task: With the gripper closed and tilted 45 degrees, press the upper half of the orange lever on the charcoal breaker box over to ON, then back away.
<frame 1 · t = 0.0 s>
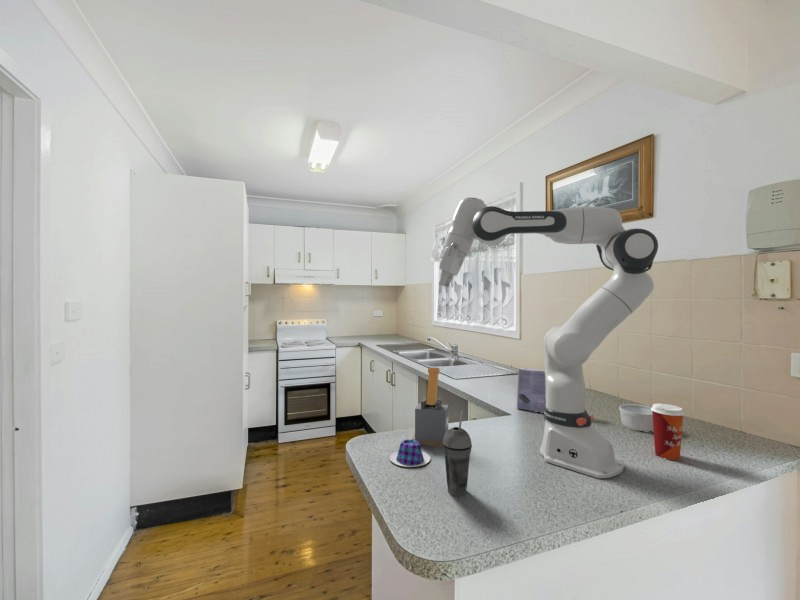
hand: (443, 285, 120), 52 cm above the worktop, tool tilted 20°, fingers open, 8 cm apart
pudding: (410, 460, 107), on the worktop
ramekin: (639, 428, 134), on the worktop
beverage cup: (457, 491, 89), on the worktop
cake pan box: (541, 412, 153), on the worktop
coffee cup: (667, 456, 109), on the worktop
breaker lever: (432, 387, 122), point 18 cm above the worktop, hinge at -25.0°
breaker box: (431, 441, 121), on the worktop
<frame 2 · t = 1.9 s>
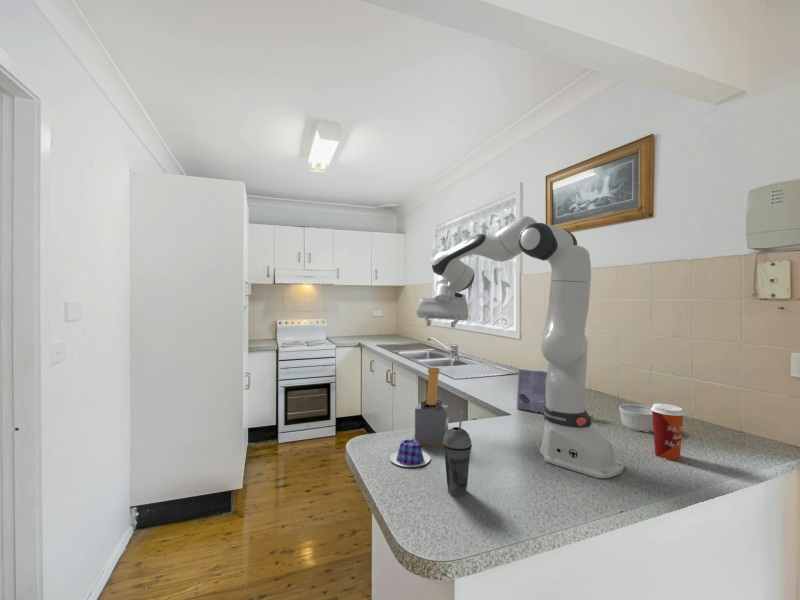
hand: (440, 325, 138), 37 cm above the worktop, tool tilted 45°, fingers open, 8 cm apart
nothing on the worktop moved.
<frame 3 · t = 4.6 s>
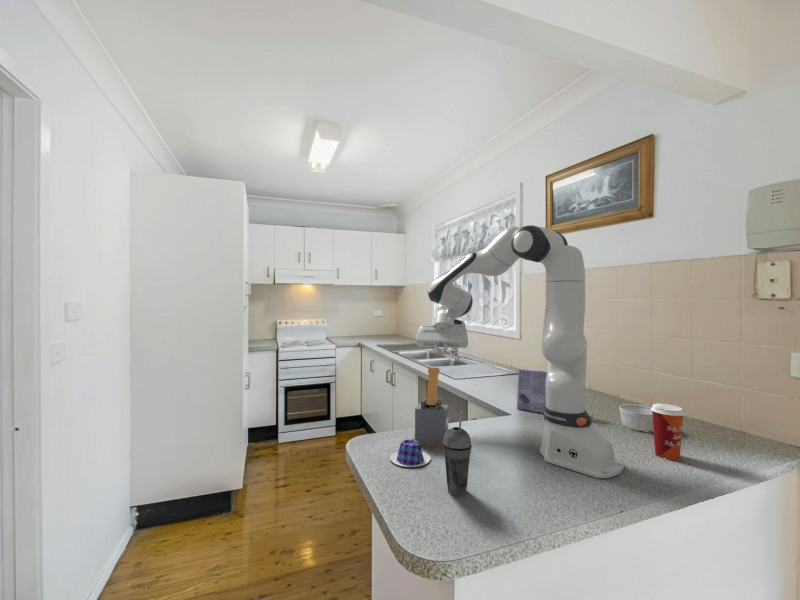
hand: (439, 354, 135), 27 cm above the worktop, tool tilted 45°, fingers closed
nothing on the worktop moved.
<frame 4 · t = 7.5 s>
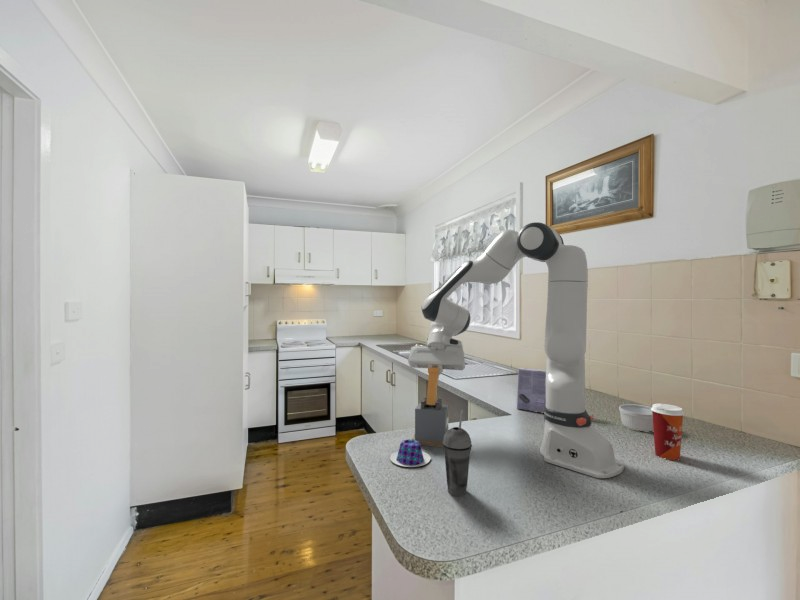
hand: (433, 377, 124), 20 cm above the worktop, tool tilted 45°, fingers closed, pressing on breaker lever
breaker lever: (432, 387, 121), point 18 cm above the worktop, hinge at -23.9°, touching gripper
everything else where it was.
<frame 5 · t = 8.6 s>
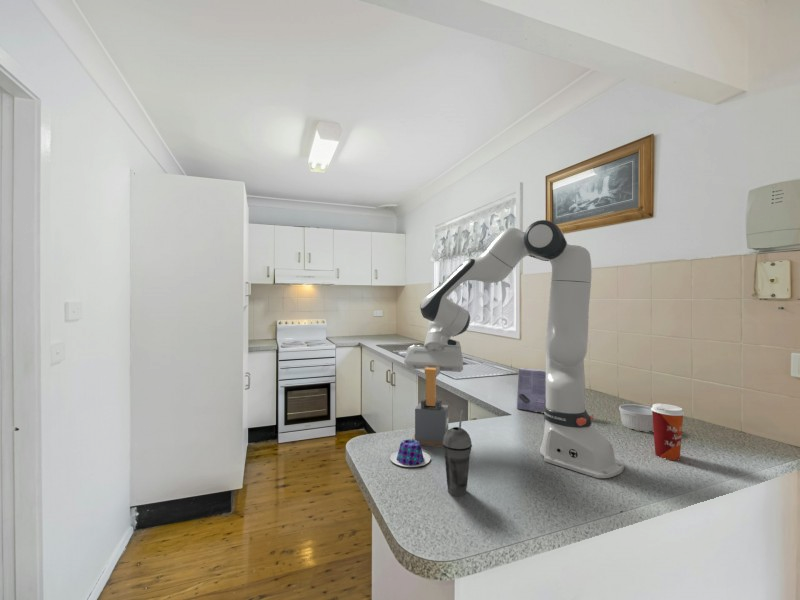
hand: (430, 379, 120), 21 cm above the worktop, tool tilted 45°, fingers closed, pressing on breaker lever
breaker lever: (430, 388, 119), point 18 cm above the worktop, hinge at 4.4°, touching gripper
everything else where it was.
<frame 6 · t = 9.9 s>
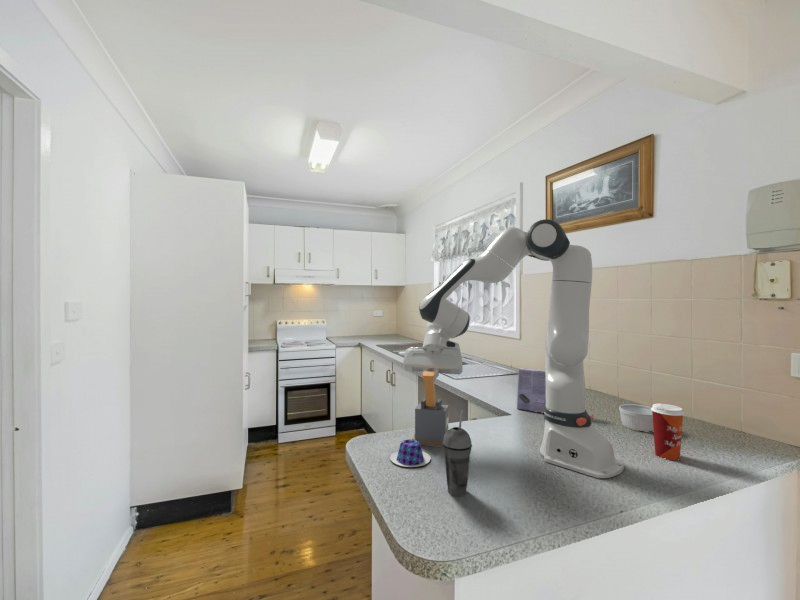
hand: (429, 382, 117), 20 cm above the worktop, tool tilted 45°, fingers closed, pressing on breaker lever
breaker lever: (429, 390, 117), point 18 cm above the worktop, hinge at 22.7°, touching gripper
everything else where it was.
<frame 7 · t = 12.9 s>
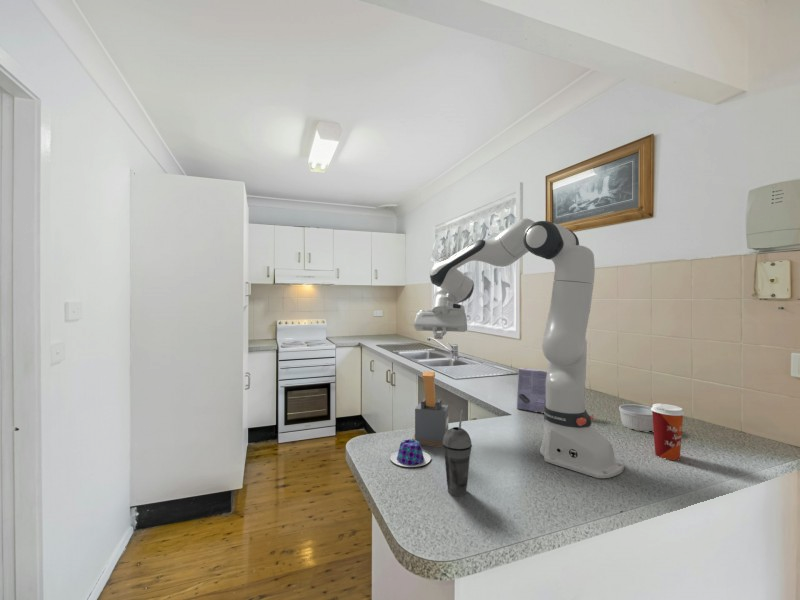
hand: (438, 338, 133), 33 cm above the worktop, tool tilted 45°, fingers closed
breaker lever: (429, 390, 117), point 18 cm above the worktop, hinge at 23.0°
everything else where it was.
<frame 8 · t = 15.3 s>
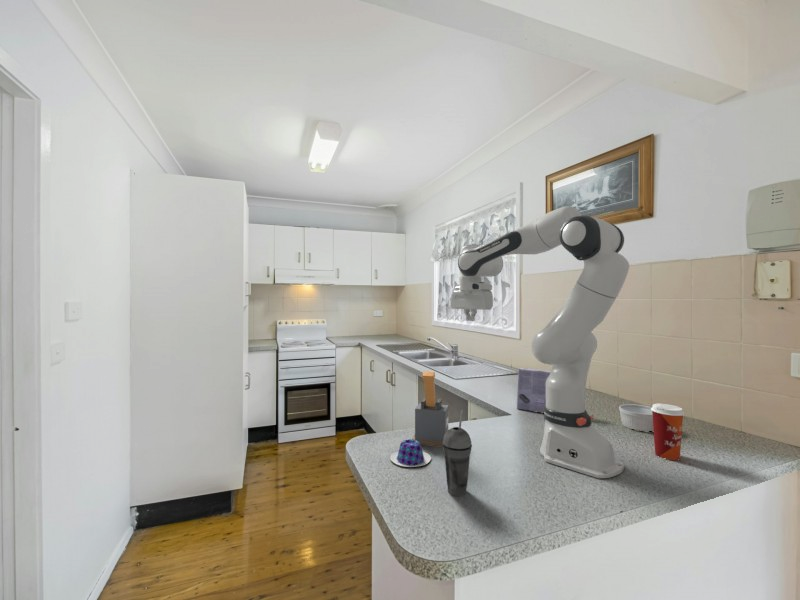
hand: (470, 320, 143), 39 cm above the worktop, tool pointing down, fingers closed
nothing on the worktop moved.
at the end: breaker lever at +23° (first picture: -25°); pudding moved 0.6 cm from its start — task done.
